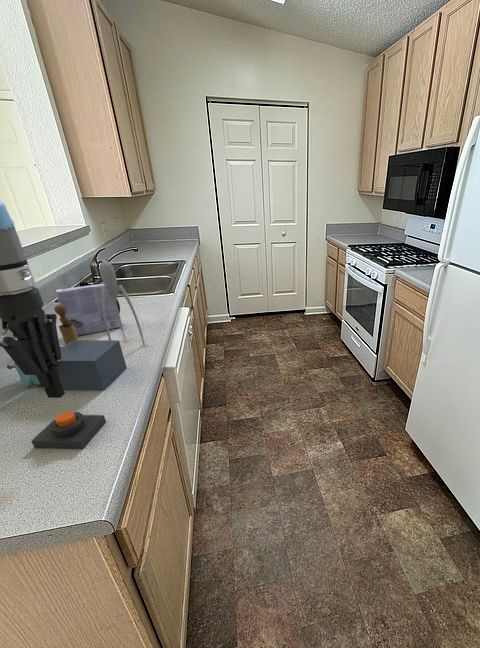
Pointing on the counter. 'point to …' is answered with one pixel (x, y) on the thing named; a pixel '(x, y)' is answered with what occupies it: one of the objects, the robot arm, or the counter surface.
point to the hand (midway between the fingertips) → (56, 395)
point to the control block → (70, 433)
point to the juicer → (113, 294)
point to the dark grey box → (90, 364)
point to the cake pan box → (88, 308)
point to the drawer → (26, 378)
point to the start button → (65, 419)
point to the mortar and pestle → (65, 325)
